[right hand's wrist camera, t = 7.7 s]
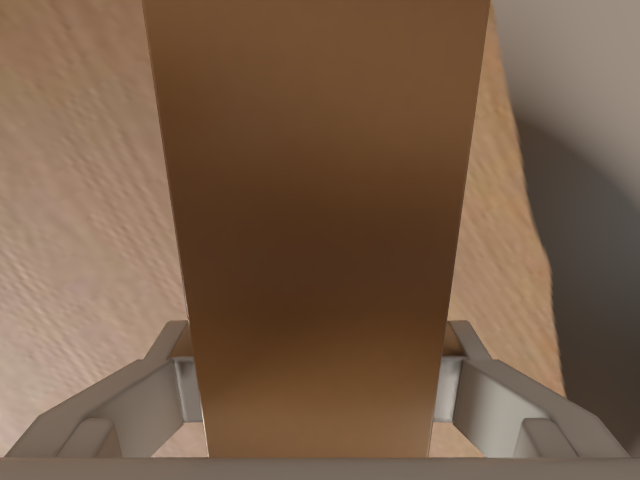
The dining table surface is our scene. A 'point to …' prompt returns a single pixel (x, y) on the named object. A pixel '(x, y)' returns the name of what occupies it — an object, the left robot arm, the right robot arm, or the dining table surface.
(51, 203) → the dining table surface
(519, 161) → the dining table surface
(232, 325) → the beam
